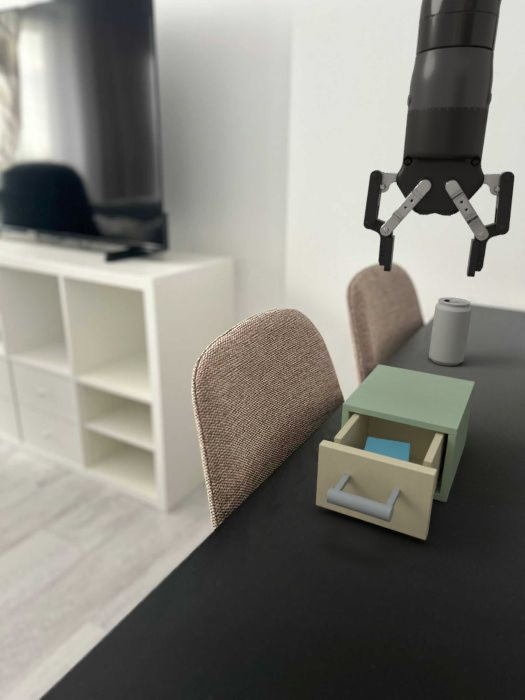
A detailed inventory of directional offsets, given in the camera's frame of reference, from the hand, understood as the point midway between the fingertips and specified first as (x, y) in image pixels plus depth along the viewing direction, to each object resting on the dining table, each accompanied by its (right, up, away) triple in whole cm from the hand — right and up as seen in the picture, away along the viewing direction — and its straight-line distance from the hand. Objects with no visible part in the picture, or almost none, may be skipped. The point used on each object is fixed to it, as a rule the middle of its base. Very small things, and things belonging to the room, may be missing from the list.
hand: (427, 272), depth 55 cm
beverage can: (+17, -11, +43) cm, 48 cm away
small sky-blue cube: (-5, -23, 0) cm, 24 cm away
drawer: (-5, -24, 0) cm, 25 cm away
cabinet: (0, -22, +10) cm, 24 cm away
